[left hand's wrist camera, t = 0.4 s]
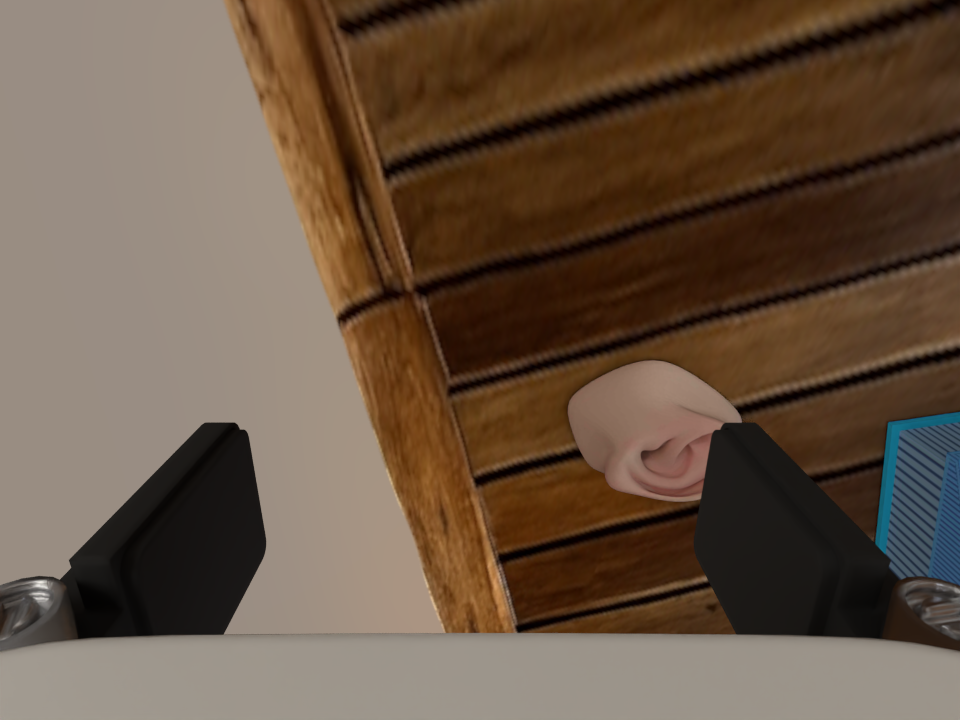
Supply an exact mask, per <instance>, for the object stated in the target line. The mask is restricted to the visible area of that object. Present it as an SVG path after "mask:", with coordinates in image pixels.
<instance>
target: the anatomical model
mask: <svg viewBox="0 0 960 720" xmlns="http://www.w3.org/2000/svg"><path fill="white" fill-rule="evenodd" d="M568 417H569V422H570V425H571V428H572V432H573V435H574V438H575V441H576V443H577V445H578V447H579V449H580V451H581V453H582V455H583V457H584V458H585V460H586V462H587V463H588V464H589V465H590V466H591V467H592V468H594V469H596V470H598V471H600V472H603V473H605V478H606V481H607V483H608V484H609V485H610V486H611V487H612V488H613V489H615V490H618V491H621V492H626V493H630V494H635V495H640V496H644V497H649V498H654V499H659V500H665V501H676V502H685V501H694V500H698V499H701V495H702V489H703V483H704V477H705V471H706V465H707V459H708V453H709V448H710V442H711V437H712V433H713V432H714V431H715V430H720V429H721V427H722V425H723V424H724V423H742V420H741V417H740V415H739V413H738V412H737V410H736V409H735V408H734V407H733V406H732V404H731V403H730V402H729V401H728V400H726V399H725V398H724V397H723V396H722V395H721V394H719V393H718V392H717V391H716V390H714V389H713V388H712V387H710V386H709V385H708V384H706V383H705V382H703V381H702V380H700V379H699V378H697V377H696V376H694V375H693V374H691V373H689V372H688V371H686V370H684V369H682V368H680V367H678V366H676V365H673V364H671V363H667V362H664V361H656V360H650V361H641V362H636V363H633V364H629V365H625V366H623V367H620V368H618V369H615V370H613V371H611V372H609V373H607V374H605V375H603V376H601V377H599V378H597V379H595V380H594V381H592V382H590V383H589V384H587V385H586V386H584V387H583V388H581V389H580V390H579V391H577V392H576V393H575V394H574V395H573V397H572V398H571V400H570V402H569V404H568Z"/></svg>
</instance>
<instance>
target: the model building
mask: <svg viewBox="0 0 960 720" xmlns="http://www.w3.org/2000/svg"><path fill="white" fill-rule="evenodd" d="M875 544H876V545H877V546H878V547H879V548H880V549H881V550H882V551H883V552H884V553H885V554H886V556H887V557H888V558H889V559H890V560H891V562H890V565H889V569H890V570H891V571H892V572H893V573H894V574H895V575H896V576H897V577H898V578H899V579H900V580H901V579H904V578H906V577H915V576H924V577H931V578H938V579H941V580H944V581H948V582H951V583H954V584H957V585H960V412H955V413H948V414H941V415H935V416H928V417H921V418H914V419H907V420H900V421H893V422H888V429H887V438H886V447H885V457H884V466H883V476H882V485H881V494H880V504H879V513H878V523H877V532H876V541H875Z"/></svg>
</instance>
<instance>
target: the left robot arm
mask: <svg viewBox="0 0 960 720" xmlns="http://www.w3.org/2000/svg"><path fill="white" fill-rule="evenodd" d="M265 550H266V537H265V530H264V524H263V519H262V513H261V507H260V501H259V495H258V489H257V483H256V477H255V471H254V466H253V459H252V453H251V448H250V442H249V437H248V433H247V432H246V431H245V430H240V429H239V427H238V425H237V424H236V423H204V424H202V425H201V426H200V427H199V428H198V429H197V430H196V431H195V432H194V433H193V435H192V436H191V437H189V439H188V440H187V441H186V442H185V443H184V444H183V445H182V446H181V447H180V448H179V449H178V450H177V451H176V452H175V453H174V454H173V455H172V456H171V457H170V458H169V459H168V460H167V461H166V462H165V463H164V464H163V465H162V466H161V467H160V468H159V469H158V470H157V471H156V472H155V473H154V474H153V475H152V476H151V477H150V478H149V479H148V480H147V481H146V482H145V483H144V484H143V485H142V486H141V487H140V488H139V489H138V490H137V491H136V492H135V493H134V494H133V495H132V497H131V498H130V499H129V500H128V501H127V502H126V503H125V504H124V505H123V506H122V507H121V508H120V509H119V510H118V511H117V512H116V513H115V514H114V515H113V516H112V517H111V518H110V519H109V520H108V521H107V522H106V523H105V524H104V525H103V526H102V527H101V528H100V529H99V530H98V531H97V532H96V533H95V534H94V535H93V536H92V537H91V538H90V539H89V540H88V541H87V542H86V543H85V544H84V545H83V546H82V547H81V548H80V549H79V550H78V552H76V554H74V556H73V557H72V558H71V559H70V560H69V562H70V565H71V569H70V570H69V571H68V572H67V573H66V574H65V575H64V576H63V577H62V578H61V579H60V580H59V579H56V578H54V577H45V576H36V577H30V578H22V579H19V580H16V581H12V582H9V583H6V584H3V585H0V720H960V585H957V584H954V583H951V582H948V581H944V580H941V579H938V578H931V577H924V576H915V577H906V578H904V579H901V580H900V579H899V578H898V577H897V576H896V575H895V574H894V573H893V572H892V571H891V570H890V569H889V565H890V562H891V560H890V559H889V558H888V557H887V556H886V554H885V553H884V552H883V551H882V550H881V549H880V548H879V547H878V546H877V545H876V544H875V543H874V542H873V541H872V540H871V539H870V538H869V537H868V536H867V535H866V534H865V533H864V532H863V531H862V530H861V529H860V528H859V527H858V526H857V525H856V524H855V523H854V522H853V521H852V520H851V519H850V518H849V517H848V516H847V515H846V514H845V513H844V512H843V511H842V510H841V509H840V508H839V507H838V506H837V505H836V504H835V503H834V502H833V501H832V500H831V499H830V498H829V496H828V495H827V494H826V493H825V492H824V491H823V490H822V489H821V488H820V487H819V486H818V485H817V484H816V483H815V482H814V481H813V480H812V479H811V478H810V477H809V476H808V475H807V474H806V473H805V472H804V471H803V470H802V469H801V468H800V467H799V466H798V465H797V464H796V463H795V462H794V461H793V460H792V459H791V458H790V457H789V456H788V455H787V454H786V453H785V452H784V451H783V450H782V449H781V448H780V447H779V446H778V445H777V444H776V443H775V442H774V441H773V440H772V439H771V437H770V436H769V435H768V434H767V433H766V432H765V431H764V430H763V429H762V428H761V427H760V426H759V425H758V424H756V423H724V424H723V425H722V427H721V429H720V430H715V431H714V432H713V433H712V437H711V442H710V448H709V453H708V459H707V465H706V471H705V477H704V483H703V489H702V495H701V501H700V507H699V512H698V518H697V524H696V530H695V536H694V550H695V554H696V557H697V559H698V561H699V563H700V565H701V567H702V569H703V571H704V573H705V575H706V577H707V579H708V581H709V582H710V584H711V586H712V588H713V590H714V592H715V594H716V596H717V598H718V600H719V602H720V604H721V606H722V607H723V609H724V611H725V613H726V615H727V617H728V619H729V621H730V623H731V625H732V627H733V629H734V630H735V632H736V634H737V635H726V634H585V633H367V634H240V635H223V634H224V632H225V630H226V629H227V627H228V625H229V623H230V621H231V619H232V617H233V615H234V613H235V611H236V609H237V607H238V606H239V603H240V602H241V600H242V598H243V596H244V594H245V592H246V590H247V588H248V586H249V584H250V582H251V581H252V579H253V577H254V575H255V573H256V571H257V569H258V567H259V565H260V563H261V561H262V559H263V557H264V554H265Z"/></svg>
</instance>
